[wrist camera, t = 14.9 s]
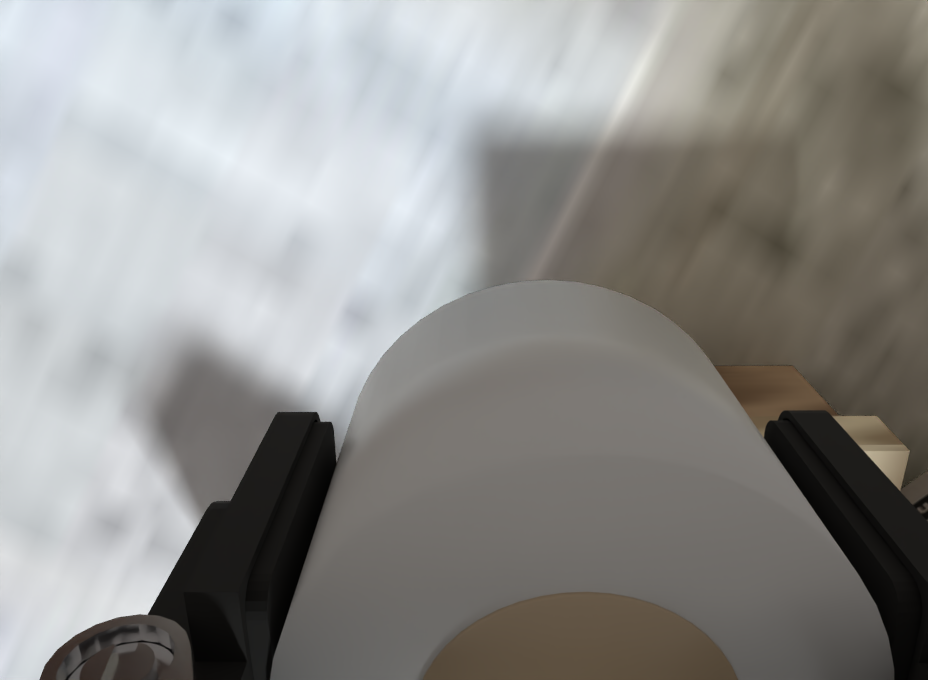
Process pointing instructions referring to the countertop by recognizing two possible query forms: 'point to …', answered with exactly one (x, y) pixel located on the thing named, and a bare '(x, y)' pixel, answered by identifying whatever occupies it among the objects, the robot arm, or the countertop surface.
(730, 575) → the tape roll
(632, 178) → the countertop surface
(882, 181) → the countertop surface
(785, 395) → the crate
